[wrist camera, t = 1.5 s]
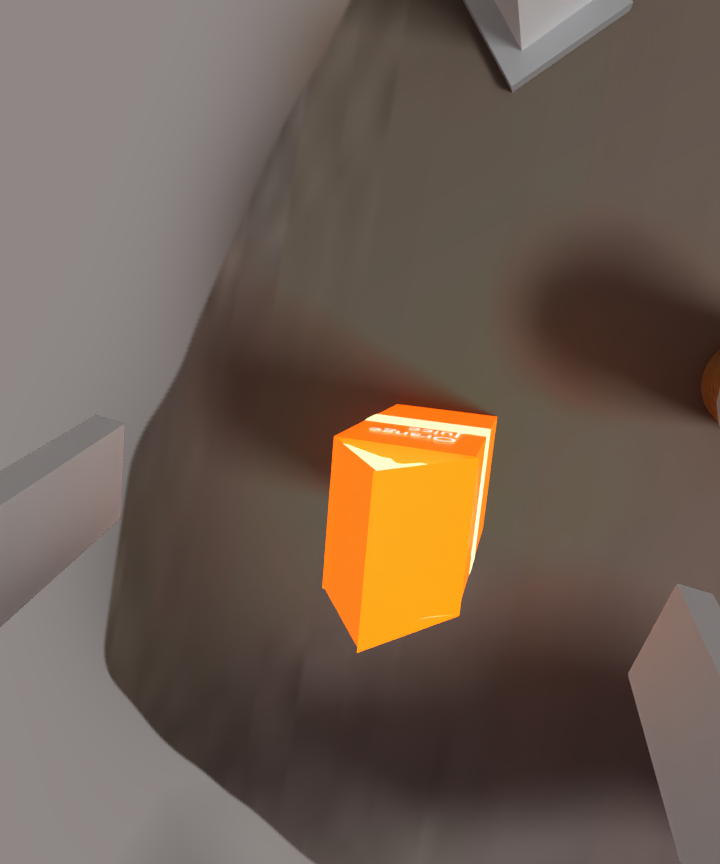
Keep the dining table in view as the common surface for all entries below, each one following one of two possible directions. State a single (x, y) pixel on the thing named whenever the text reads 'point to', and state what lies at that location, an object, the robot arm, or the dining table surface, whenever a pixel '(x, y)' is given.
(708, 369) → the disposable coffee cup
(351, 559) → the orange juice
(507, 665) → the dining table surface
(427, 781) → the dining table surface
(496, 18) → the post
